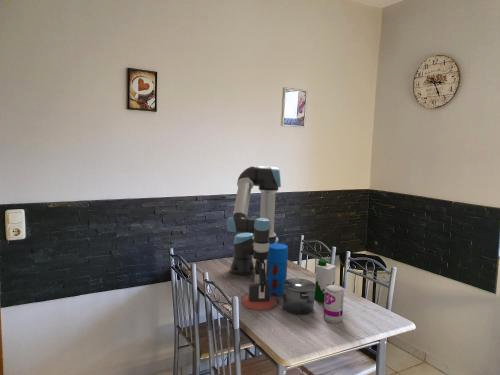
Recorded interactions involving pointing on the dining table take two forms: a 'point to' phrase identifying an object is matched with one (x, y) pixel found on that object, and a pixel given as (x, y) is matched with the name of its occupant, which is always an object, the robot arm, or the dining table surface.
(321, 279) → the milk carton
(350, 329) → the dining table surface
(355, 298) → the dining table surface
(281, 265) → the thermos
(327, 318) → the supplement can
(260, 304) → the lid
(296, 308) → the pot
